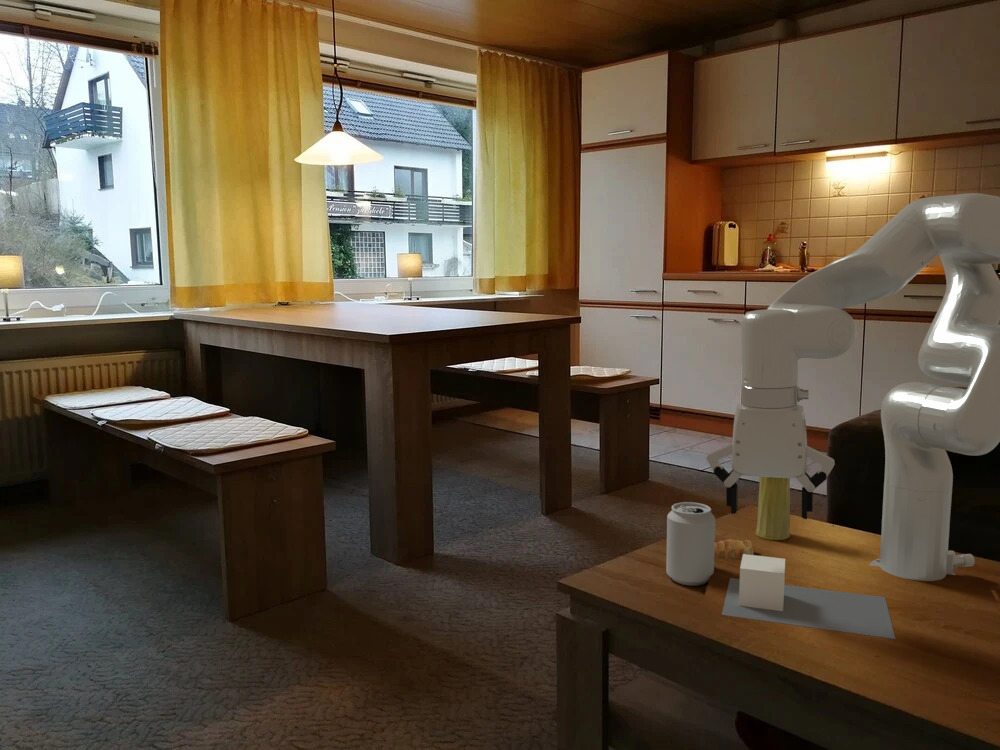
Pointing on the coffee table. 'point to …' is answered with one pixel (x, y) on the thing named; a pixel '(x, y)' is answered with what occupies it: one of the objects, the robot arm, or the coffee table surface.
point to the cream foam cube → (762, 582)
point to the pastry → (732, 549)
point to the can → (690, 543)
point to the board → (819, 610)
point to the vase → (774, 508)
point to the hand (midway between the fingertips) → (768, 513)
